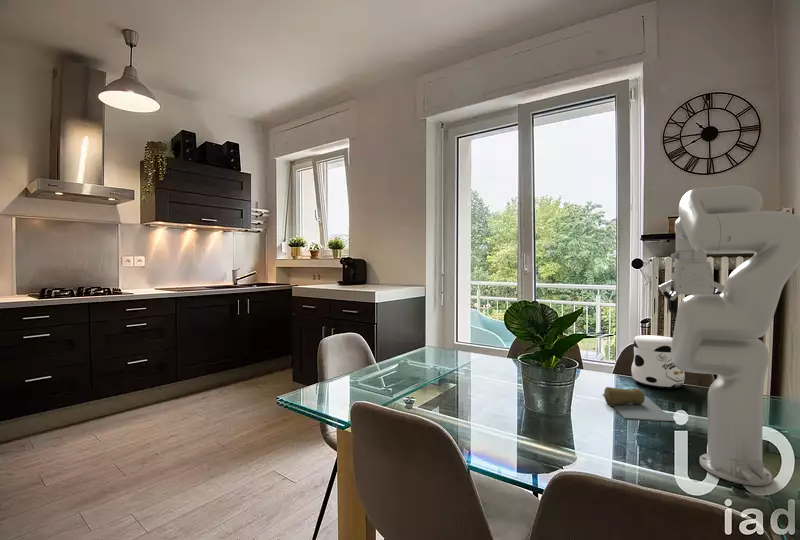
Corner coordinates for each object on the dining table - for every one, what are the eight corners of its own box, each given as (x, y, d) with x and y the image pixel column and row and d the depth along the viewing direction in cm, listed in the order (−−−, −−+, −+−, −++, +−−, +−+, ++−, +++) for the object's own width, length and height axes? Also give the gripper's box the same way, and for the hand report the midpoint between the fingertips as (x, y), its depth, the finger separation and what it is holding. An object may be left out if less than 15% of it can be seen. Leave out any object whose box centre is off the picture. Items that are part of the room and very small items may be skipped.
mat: (675, 422, 117) (675, 420, 117) (624, 418, 120) (624, 417, 120) (645, 397, 138) (645, 396, 138) (602, 394, 141) (602, 393, 141)
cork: (613, 407, 128) (648, 407, 127) (612, 388, 128) (646, 388, 128) (605, 403, 134) (637, 403, 133) (603, 385, 134) (636, 385, 134)
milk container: (687, 395, 140) (686, 345, 139) (631, 387, 149) (630, 340, 149) (682, 382, 155) (682, 336, 154) (631, 376, 164) (631, 333, 163)
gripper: (664, 257, 117) (664, 314, 117) (731, 256, 113) (731, 315, 113) (653, 257, 124) (654, 311, 124) (716, 256, 120) (716, 312, 121)
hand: (690, 313), depth 119 cm, fingers open, 9 cm apart
